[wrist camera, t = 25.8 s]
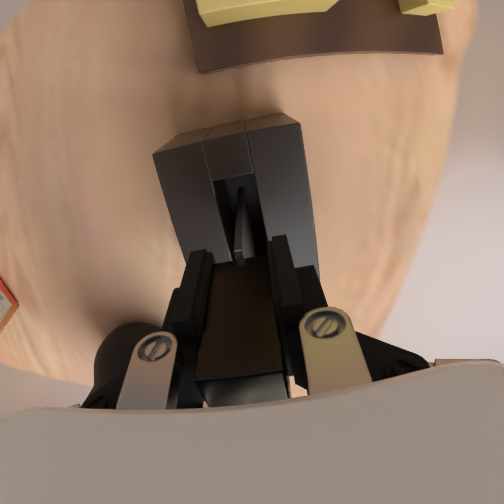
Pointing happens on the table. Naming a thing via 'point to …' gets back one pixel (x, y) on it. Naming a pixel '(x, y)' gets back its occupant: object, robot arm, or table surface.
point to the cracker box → (6, 305)
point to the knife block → (239, 175)
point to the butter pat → (425, 6)
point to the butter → (255, 9)
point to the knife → (241, 328)
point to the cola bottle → (118, 352)
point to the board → (313, 34)
